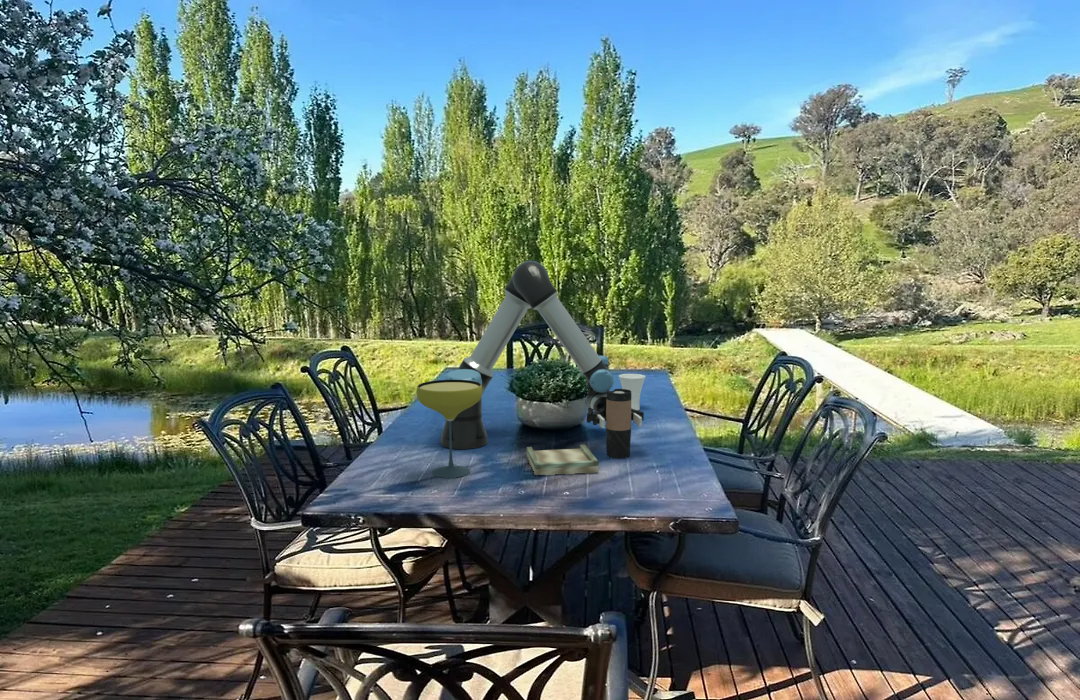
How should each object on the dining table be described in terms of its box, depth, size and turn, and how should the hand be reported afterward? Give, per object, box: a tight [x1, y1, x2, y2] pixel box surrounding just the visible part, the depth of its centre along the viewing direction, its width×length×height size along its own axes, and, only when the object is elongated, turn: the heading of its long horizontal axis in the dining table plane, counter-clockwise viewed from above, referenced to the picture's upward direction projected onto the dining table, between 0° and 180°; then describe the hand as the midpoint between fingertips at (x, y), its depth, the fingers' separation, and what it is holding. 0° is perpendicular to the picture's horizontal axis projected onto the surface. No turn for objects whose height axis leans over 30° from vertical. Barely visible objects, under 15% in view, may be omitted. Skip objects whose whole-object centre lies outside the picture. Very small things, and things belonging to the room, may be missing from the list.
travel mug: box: [605, 388, 632, 459], centre depth 209 cm, size 8×8×20 cm
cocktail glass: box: [416, 379, 483, 479], centre depth 193 cm, size 18×18×25 cm
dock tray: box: [526, 444, 600, 476], centre depth 201 cm, size 18×18×3 cm
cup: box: [618, 373, 646, 411], centre depth 273 cm, size 10×10×14 cm
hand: (622, 423), depth 205 cm, fingers open, 11 cm apart
